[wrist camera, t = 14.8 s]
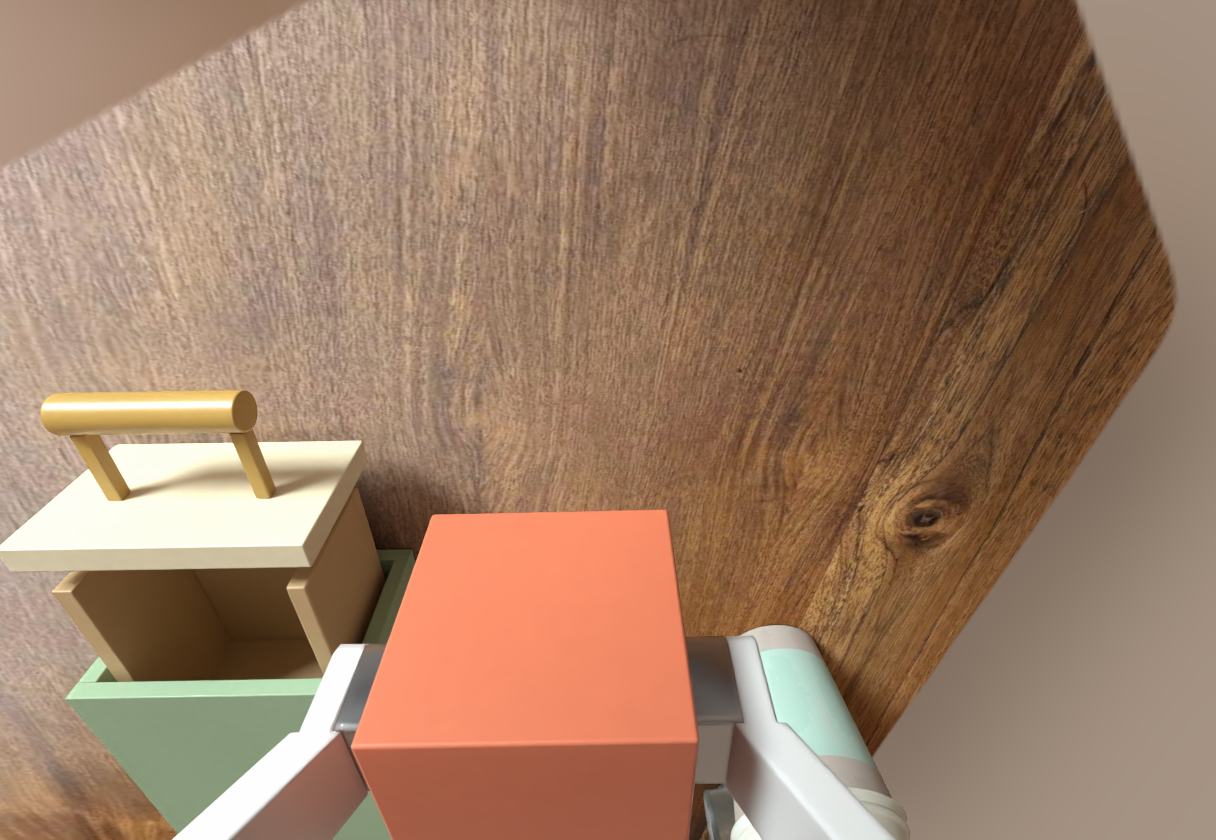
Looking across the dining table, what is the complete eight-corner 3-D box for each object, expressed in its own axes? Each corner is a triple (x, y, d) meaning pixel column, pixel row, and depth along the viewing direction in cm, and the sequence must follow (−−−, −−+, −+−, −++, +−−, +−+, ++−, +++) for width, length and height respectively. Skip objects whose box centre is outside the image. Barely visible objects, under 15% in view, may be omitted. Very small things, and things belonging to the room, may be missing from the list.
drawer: (64, 350, 26) (-90, 443, 20) (337, 346, 26) (261, 437, 20) (220, 633, 35) (147, 750, 30) (416, 630, 36) (380, 745, 30)
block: (431, 512, 11) (348, 747, 8) (667, 507, 11) (700, 740, 8) (465, 661, 14) (415, 896, 10) (661, 658, 14) (683, 891, 10)
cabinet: (180, 552, 33) (64, 699, 26) (412, 548, 33) (360, 693, 26) (265, 709, 41) (194, 854, 34) (452, 705, 41) (421, 850, 34)
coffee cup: (695, 618, 37) (732, 844, 27) (840, 600, 36) (934, 825, 26) (707, 700, 41) (743, 919, 31) (836, 686, 40) (914, 905, 30)
